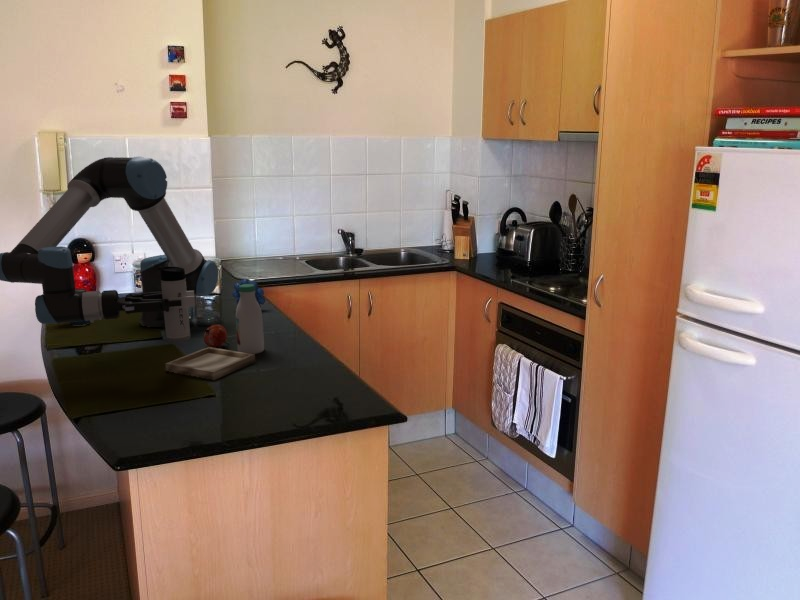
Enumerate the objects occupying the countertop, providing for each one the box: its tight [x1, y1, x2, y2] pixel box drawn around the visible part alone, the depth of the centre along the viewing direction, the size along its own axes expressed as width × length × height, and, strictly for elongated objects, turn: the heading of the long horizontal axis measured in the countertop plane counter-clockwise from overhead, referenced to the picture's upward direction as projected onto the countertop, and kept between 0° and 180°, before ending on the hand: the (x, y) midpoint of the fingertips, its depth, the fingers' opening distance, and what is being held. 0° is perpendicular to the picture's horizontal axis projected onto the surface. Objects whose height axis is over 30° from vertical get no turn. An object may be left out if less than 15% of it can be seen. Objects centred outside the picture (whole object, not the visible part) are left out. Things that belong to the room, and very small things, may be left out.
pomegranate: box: [203, 324, 230, 349], centre depth 215 cm, size 7×7×10 cm
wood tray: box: [164, 346, 256, 381], centre depth 198 cm, size 17×17×2 cm
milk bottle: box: [235, 284, 265, 355], centre depth 209 cm, size 8×8×20 cm
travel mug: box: [159, 266, 191, 343], centre depth 191 cm, size 6×7×20 cm
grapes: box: [231, 278, 266, 309], centre depth 257 cm, size 12×7×12 cm, turn 94°
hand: (194, 298), depth 192 cm, fingers closed on travel mug, 6 cm apart
